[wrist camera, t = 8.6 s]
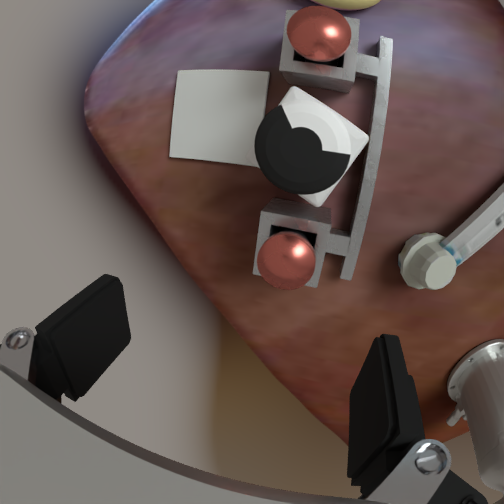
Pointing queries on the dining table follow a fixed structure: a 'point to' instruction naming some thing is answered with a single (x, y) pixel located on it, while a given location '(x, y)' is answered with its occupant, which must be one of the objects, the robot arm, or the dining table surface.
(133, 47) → the dining table surface
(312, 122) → the medicine bottle
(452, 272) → the grey piece
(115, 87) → the dining table surface
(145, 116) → the dining table surface
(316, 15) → the plunger
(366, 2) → the donut
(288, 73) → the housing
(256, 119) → the mat
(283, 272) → the plunger
